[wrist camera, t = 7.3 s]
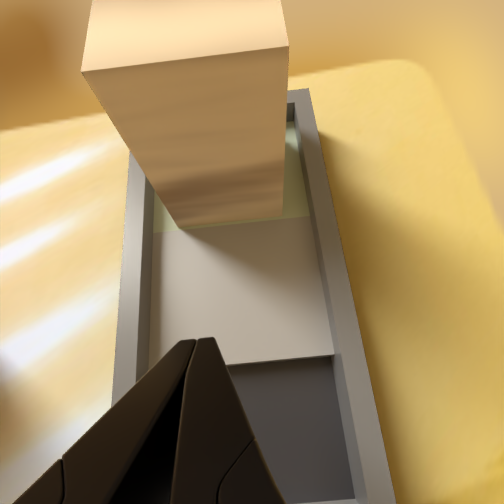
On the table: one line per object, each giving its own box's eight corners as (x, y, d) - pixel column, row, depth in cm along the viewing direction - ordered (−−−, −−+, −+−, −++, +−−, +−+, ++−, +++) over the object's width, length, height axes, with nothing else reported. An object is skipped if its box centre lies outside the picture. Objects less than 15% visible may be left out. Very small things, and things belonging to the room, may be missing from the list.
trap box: (433, 791, 11) (485, 926, 8) (121, 808, 12) (72, 943, 9) (304, 124, 23) (308, 88, 20) (150, 142, 23) (132, 109, 20)
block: (282, 216, 18) (289, 45, 9) (178, 227, 19) (80, 71, 9) (270, 133, 21) (266, -70, 11) (178, 144, 21) (100, -47, 12)
